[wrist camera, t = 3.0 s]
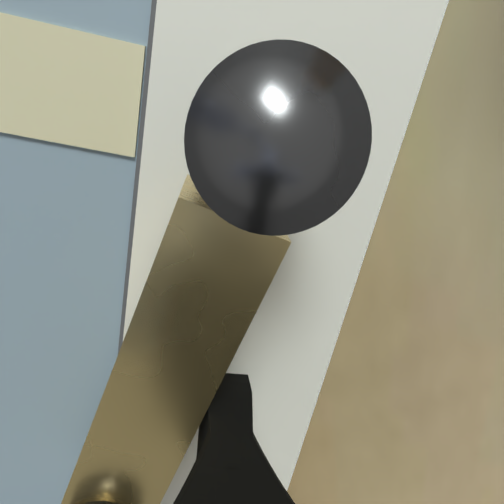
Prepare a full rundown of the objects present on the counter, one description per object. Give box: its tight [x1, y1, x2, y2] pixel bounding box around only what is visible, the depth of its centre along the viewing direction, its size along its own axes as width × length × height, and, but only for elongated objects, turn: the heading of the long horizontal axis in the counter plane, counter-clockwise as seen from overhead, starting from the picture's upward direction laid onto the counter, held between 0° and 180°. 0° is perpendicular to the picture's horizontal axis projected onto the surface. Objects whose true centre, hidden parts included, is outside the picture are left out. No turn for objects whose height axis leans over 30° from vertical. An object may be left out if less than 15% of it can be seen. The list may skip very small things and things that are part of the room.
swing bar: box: [61, 174, 291, 504], centre depth 9 cm, size 10×2×3 cm, turn 156°
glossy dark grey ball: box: [184, 39, 372, 236], centre depth 8 cm, size 3×3×4 cm
